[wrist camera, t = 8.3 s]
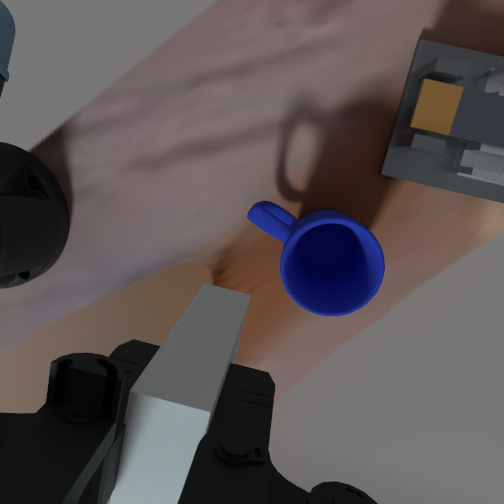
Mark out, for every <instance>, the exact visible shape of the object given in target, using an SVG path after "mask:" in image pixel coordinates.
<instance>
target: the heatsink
mask: <svg viewBox="0 0 504 504" xmlns="http://www.w3.org/2000/svg"><path fill="white" fill-rule="evenodd" d="M423 79H429V80H434V81H438V82H443V83H447V84H452V85H456V86H461V87H465V88H469V89H474V90H478V91H483V92H487V93H492V94H496V95H501V96H504V57H503V56H498V55H493V54H489V53H484V52H480V51H475V50H471V49H466V48H461V47H457V46H452V45H448V44H443V43H438V42H434V41H429V40H425V39H419V40H418V42H417V45H416V49H415V52H414V56H413V59H412V63H411V66H410V69H409V73H408V76H407V80H406V83H405V87H404V90H403V94H402V97H401V100H400V104H399V107H398V111H397V114H396V118H395V121H394V125H393V128H392V131H391V135H390V138H389V142H388V145H387V149H386V152H385V156H384V159H383V163H382V166H381V169H380V173H379V174H382V175H386V176H390V177H394V178H399V179H403V180H407V181H412V182H416V183H420V184H424V185H429V186H433V187H437V188H442V189H446V190H450V191H454V192H459V193H463V194H467V195H472V196H476V197H480V198H484V199H489V200H493V201H497V202H502V203H504V148H499V147H495V146H491V145H486V144H482V143H477V142H473V141H469V140H464V139H460V138H456V137H451V136H447V135H442V134H438V133H434V132H429V131H425V130H421V129H416V128H412V127H409V124H410V120H411V117H412V114H413V110H414V107H415V104H416V100H417V97H418V93H419V90H420V87H421V83H422V80H423Z"/></svg>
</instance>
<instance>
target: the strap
mask: <svg viewBox="0 0 504 504" xmlns="http://www.w3.org/2000/svg"><path fill="white" fill-rule="evenodd" d="M409 127H412V128H416V129H421V130H425V131H429V132H434V133H438V134H442V135H447V136H451V137H456V138H460V139H464V140H469V141H473V142H477V143H482V144H486V145H491V146H495V147H499V148H504V96H501V95H496V94H492V93H487V92H483V91H478V90H474V89H469V88H465V87H461V86H456V85H452V84H447V83H443V82H438V81H434V80H429V79H423V80H422V83H421V87H420V90H419V93H418V97H417V100H416V104H415V107H414V110H413V114H412V117H411V120H410V124H409Z"/></svg>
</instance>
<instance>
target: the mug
mask: <svg viewBox="0 0 504 504" xmlns="http://www.w3.org/2000/svg"><path fill="white" fill-rule="evenodd" d="M247 218H248V219H249V220H250V221H251V222H252V223H254V224H255V225H257V226H258V227H260V228H261V229H262V230H264V231H265V232H267V233H268V234H270V235H272V236H273V237H275V238H277V239H278V240H280V241H282V242H283V243H284V248H283V252H282V255H281V261H280V272H281V278H282V282H283V284H284V287H285V289H286V290H287V292H288V294H289V295H290V296H291V298H292V299H293V300H294V301H295V302H296V303H297V304H298V305H300V306H301V307H303V308H304V309H306V310H308V311H310V312H312V313H315V314H318V315H323V316H341V315H346V314H349V313H352V312H354V311H356V310H358V309H360V308H361V307H363V306H364V305H366V304H367V303H368V302H369V301H370V300H371V299H372V298H373V297H374V295H375V294H376V293H377V291H378V289H379V287H380V285H381V283H382V280H383V276H384V270H385V262H384V255H383V251H382V249H381V246H380V244H379V242H378V241H377V239H376V238H375V236H374V235H373V234H372V233H371V232H370V231H369V230H368V229H367V228H366V227H365V226H363V225H362V224H360V223H359V222H357V221H355V220H354V219H352V218H351V217H349V216H347V215H346V214H344V213H342V212H339V211H335V210H319V211H315V212H313V213H311V214H309V215H307V216H306V217H304V218H303V219H301V220H300V221H297V219H296V218H295V217H294V216H293V215H291V214H290V213H289V212H287V211H286V210H285V209H283V208H281V207H280V206H278V205H276V204H274V203H272V202H269V201H261V202H258V203H256V204H254V205H253V207H252V208H251V209H250V211H249V212H248V215H247Z"/></svg>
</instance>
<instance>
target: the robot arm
mask: <svg viewBox="0 0 504 504" xmlns="http://www.w3.org/2000/svg"><path fill="white" fill-rule="evenodd" d="M14 37H15V24H14V20H13V18H12V15H11V14H10V12H9V10H8V9H7V7H6V6H5V5H4V4H3V3H2V2H1V1H0V97H1V93H2V90H3V86H4V83H5V81H8V78H9V73H8V71H7V68H8V64H9V59H10V54H11V50H12V46H13V41H14ZM68 228H69V217H68V209H67V204H66V201H65V198H64V195H63V192H62V190H61V188H60V186H59V184H58V182H57V181H56V179H55V177H54V176H53V174H52V173H51V172H50V171H49V169H48V168H47V167H46V166H45V165H44V164H43V163H42V162H41V161H40V160H38V159H37V158H36V157H35V156H33V155H32V154H30V153H29V152H27V151H25V150H23V149H22V148H19V147H17V146H14V145H11V144H8V143H3V142H0V289H2V288H10V287H14V286H18V285H21V284H24V283H26V282H28V281H30V280H32V279H34V278H36V277H38V276H40V275H42V274H43V273H45V272H46V271H47V270H48V269H50V268H51V267H52V266H53V264H54V263H55V262H56V261H57V259H58V258H59V256H60V255H61V253H62V251H63V249H64V246H65V243H66V240H67V235H68ZM250 296H251V295H249V294H245V293H241V292H237V291H233V290H229V289H225V288H221V287H217V286H213V285H209V284H205V283H204V285H203V286H202V288H201V289H200V291H199V292H198V293H197V295H196V296H195V298H194V299H193V301H192V302H191V304H190V305H189V307H188V308H187V310H186V311H185V312H184V314H183V315H182V316H181V318H180V319H179V321H178V322H177V324H176V325H175V327H174V328H173V329H172V331H171V332H170V334H169V335H168V337H167V338H166V340H165V341H164V343H163V344H162V345H161V346H157V345H154V344H150V343H145V342H142V341H138V340H131V341H129V342H127V343H124V344H122V345H119V346H118V347H117V348H116V349H115V350H114V351H113V352H112V353H111V355H110V356H109V357H107V356H104V355H100V354H93V353H73V354H69V355H65V356H61V357H59V358H57V359H56V360H54V361H52V362H51V368H50V375H49V383H48V392H47V399H46V403H45V404H44V405H43V406H42V407H41V408H40V409H39V410H38V411H37V412H36V413H24V414H19V413H0V504H106V503H107V501H108V500H109V498H110V496H111V499H110V504H377V502H375V501H374V500H373V499H372V498H371V497H369V496H368V495H367V494H366V493H365V492H363V491H361V490H359V489H357V488H355V487H353V486H351V485H348V484H344V483H340V482H323V483H320V484H319V485H317V486H315V487H313V488H312V491H311V492H310V493H308V492H307V491H305V490H303V489H301V488H300V487H298V486H296V485H294V484H293V483H291V482H289V481H288V480H287V479H285V478H284V477H283V476H282V475H281V474H280V473H279V472H278V471H277V470H276V468H275V467H274V466H273V464H272V462H271V460H270V454H269V451H268V447H269V438H270V429H271V420H272V411H273V410H272V409H273V402H274V393H275V383H274V382H273V380H272V378H271V376H270V374H269V373H268V372H264V371H261V370H257V369H253V368H249V367H245V366H241V365H237V364H234V363H235V359H236V355H237V351H238V347H239V342H240V338H241V334H242V330H243V325H244V321H245V317H246V313H247V309H248V304H249V300H250Z"/></svg>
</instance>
